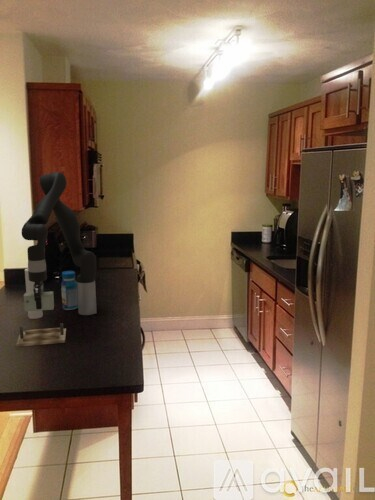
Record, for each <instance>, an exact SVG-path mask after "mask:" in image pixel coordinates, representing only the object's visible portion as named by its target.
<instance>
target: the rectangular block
mask: <svg viewBox="0 0 375 500" xmlns="http://www.w3.org/2000/svg"><path fill="white" fill-rule="evenodd" d="M37 298H39V296H37ZM34 299H35V298H34V293H26V292H25V293H24V294H23V307H24V312H28V311H39V310H43V311H50V310H54V308H55V302H54V301H55V300H54V291H43V292H42V295H41V299H42V300H41V304H42V308H41V309H36V301H35V300H34Z"/></svg>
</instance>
